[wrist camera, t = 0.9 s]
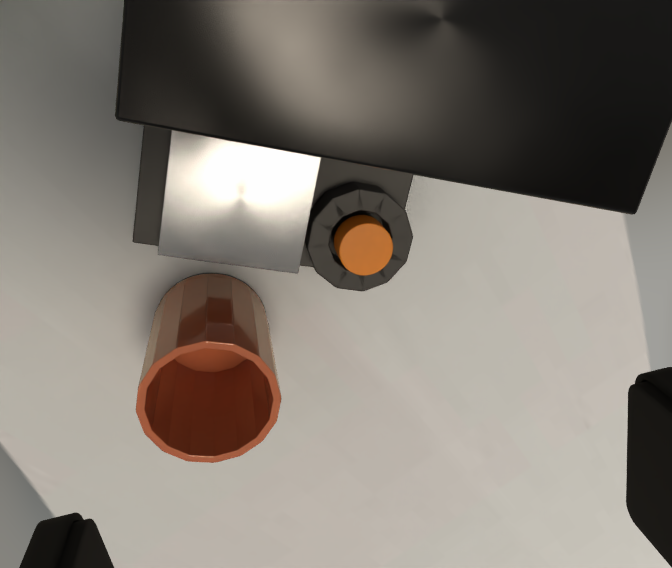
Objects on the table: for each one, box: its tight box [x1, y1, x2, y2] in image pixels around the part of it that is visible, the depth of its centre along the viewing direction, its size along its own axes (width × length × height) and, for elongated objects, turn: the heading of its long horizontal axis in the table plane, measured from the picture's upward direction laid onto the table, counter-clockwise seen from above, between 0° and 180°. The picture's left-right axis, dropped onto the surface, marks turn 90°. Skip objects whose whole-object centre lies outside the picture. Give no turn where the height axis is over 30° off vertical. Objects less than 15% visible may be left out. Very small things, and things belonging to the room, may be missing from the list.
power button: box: [334, 215, 393, 275], centre depth 34 cm, size 3×3×2 cm
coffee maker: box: [115, 0, 672, 274], centre depth 23 cm, size 16×12×19 cm
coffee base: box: [133, 125, 413, 291], centre depth 33 cm, size 15×16×3 cm
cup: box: [136, 273, 281, 463], centre depth 33 cm, size 7×7×9 cm
